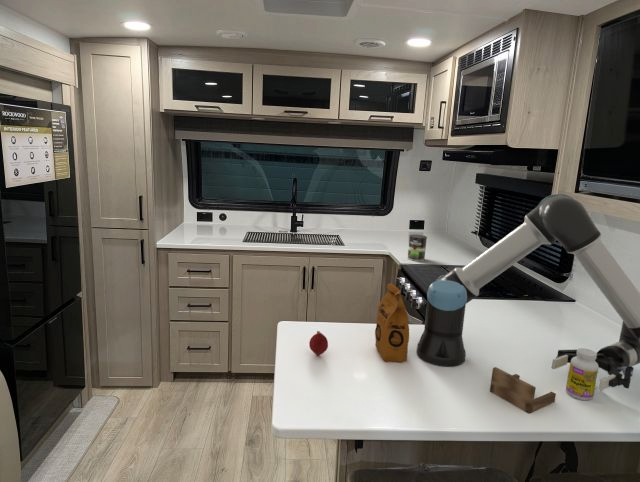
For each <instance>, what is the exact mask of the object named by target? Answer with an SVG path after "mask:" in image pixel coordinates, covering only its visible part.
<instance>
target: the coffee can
mask: <svg viewBox="0 0 640 482" xmlns="http://www.w3.org/2000/svg"><path fill="white" fill-rule="evenodd" d="M408 237H409V239H408V249H407V250H408V251H407V259H408V260H410V261H414V262H423V261H425V256H426V249H427V238H428V236H426V235H422V234H410V235H409V236H408Z"/></svg>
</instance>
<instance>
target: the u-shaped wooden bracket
mask: <svg viewBox="0 0 640 482" xmlns="http://www.w3.org/2000/svg"><path fill="white" fill-rule="evenodd" d="M520 377H521V375H520V374H518V373H514V374H510V373H509V372H507V371H504V370H503V369H500V368H498V367H496V366H494V367H492V371H491V379H490V388H489V392H490V393H492V394H494V395H496V396H497V397H499V398H501V399H503V400H504V401H506V402H508V403H509V404H511V405H513V406H515V407H517V408H518V409H520V410H522V411H524V412H525V413H527V414H532V413H534V412H535V411H536V412H537V411H538V410H540V409H543V408H545V407H547V406H549V405H552V404H553V403H554V404H555V402H556V397H557V393H555V392H553V391H550V392H547V393H544V394H542V395H540V396H538V397H536V395H535V393H536V389H537V387H536V386H534V385H532V384H530V383H528V382H526V381H524V380H522V379H520Z"/></svg>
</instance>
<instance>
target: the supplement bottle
mask: <svg viewBox="0 0 640 482" xmlns="http://www.w3.org/2000/svg"><path fill="white" fill-rule="evenodd" d="M576 350H577V353H576V354H577V356H575V357H573V358H572V359H571V363H569V370H568V374H567V380H566V384H565V391H566V393H567V394H568V395H569V396H570V397H572V398H573V399H577V400H581V401H590V400H592V399H593V398H594V394H595V390H596V383H597V379H598V373H599V369H600V368H599V366H598V364H597V362H596V361H595V359H596V357H597V351H594V350H592V349H591V348H590V349H589V348H585V347H584V348H583V347H579V348H577V349H576Z"/></svg>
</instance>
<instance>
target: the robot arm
mask: <svg viewBox="0 0 640 482" xmlns="http://www.w3.org/2000/svg"><path fill="white" fill-rule="evenodd" d="M523 220H524V222H523V223H522V224H520V225H519V226H517V227H516V228H514V229H513V230H512V231H511V232H509V233H508V234H507V235H505V236H504V237H503V238H501V239H500V240H498V241H497V242H496V243H494V244H493V245H492V246H490V247H489V248H487V249H486V250H485V251H484V252H482V253H481V254H480V255H478V256H477V257H475V258H474V259H473V260H472V261H470V262H469V263H468V264H466V265H465V266H463V267H454V268H453V269H451V270H450V271H448V273H445V274H443V275H440V276H439V277H437V279H436V280H435V281H433V282H432V283H430V285H429V286H428V290H427V293H426V297H427V300H426V311H425V319H424V329H423V332H422V334H421V336H420V338H419V341H418V343H417V346H416V355H417V356H418V357H419V358H420V359H422V360H423V361H424V362H427V363H429V364H432V365H436V366H441V367H457V366H460V365H462V364H464V363H465V361H466V356H467V354H466V353H467V351H466V349H465V344H464V338H463V330H464V323H465V322H464V321H465V314H466V313H465V312H466V305H467V304H468V303H469V302H471V301H472V300H474V299H475V298H476V297H478V296H479V294H480V289H482V288H483V287H484V286H486V285H487V284H488V283H490V282H491V281H492V280H494V279H495V278H497V277H498V276H499V275H501V274H502V273H503V272H505V271H507V270H508V269H509V268H511V267H512V266H513V265H515V264H516V263H518V262H519V261H520V260H522V259H524V258H525V257H526V256H527V255H529V254H530V253H532V252H533V251H535V250H536V249H538V248H539V247H540V246H541V245H553V244H554V243H555V242H556V241H558V243H559V244H560V245H561V246H562V247H563V248H564V250H565V251H566V253H567V254H570V255H571V254H572V255H574V256H575V258H576V259H577V261H578V262H579V264H580V265H581V266H582V267H583V268H584V270H585V271H586V273H587V274H588V276H589V277H590V278H591V279H592V281H593V282H594V283H595V285H596V286H597V288H598V289H599V291H600V292H601V293H602V295H604V297H605V299H606V300H607V301H608V303H609V304H610V305H611V306H612V308H613V310H614V311H615V312H616V313H617V314H618V316H619V317H620V319H622V324H621V329H620V334H619V339H618V342H615V343H612V344H610V345H607V346H604V347H602V348H600V349H599V350H598V351H596V353H597V357H596V359H595V361H596V362H597V364H598V366H599V369H602V370H604V371H605V372H607V374H608V376H606V377H604V378H601V379H599V382H598V383H599V384H598V389H597V390H599V391H600V392H601V391H603V390H606V389H608V388H610V387H611V388H615V387H618V386H619V387H620V386H623V388H625V389H629V388H630V384H631V378H632V377H633V374H634V373H633V372H634V368H635V367H634V366H637V365H639V364H640V291H639V290H638V288H637V286H635V284H634V283H633V282H632V280H631V279H630V278H629V276H628V274H626V273H625V270H624V269H622V267H621V265H620V264H619V263H618V262H617V260H616V259H615V257H614V256H613V255H612V253H611V251H609V250H608V247H606V245H605V244H604V243H603V241H602V240H601V237H602V233H601V232H600V230H599V229H598V228H597V226H596V225H595V223H594V221H593V220H592V218H591V217H590V215H589V213H588V211H587V210H586V207H585V206H584V205H583V204H582V203H581V202H580V201H578V200H577V199H574V198H573V197H572V196H570V195H568V194H567V195H566V194H561V193H560V194H559V193H556V194H550V195H548V196H546V197H545V198H543V199H542V200H540V202H539V203H538V204H537V206H536V207H535V208H534V209H531V210H530V212H528V213H527V214H526V215H525V216H524V219H523ZM576 353H577V349H558V350H557V353H556V354H557V355H556V357H555V358H553V359H552V362H551V368H550V369H552V370H556V369H559V368H561V367H564V366H567V365H568V364H570V363H571V359H572V358H573V357H575V356H577V354H576ZM621 372H622V373H623V374H622V373H621ZM623 376H624V377H623Z"/></svg>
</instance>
